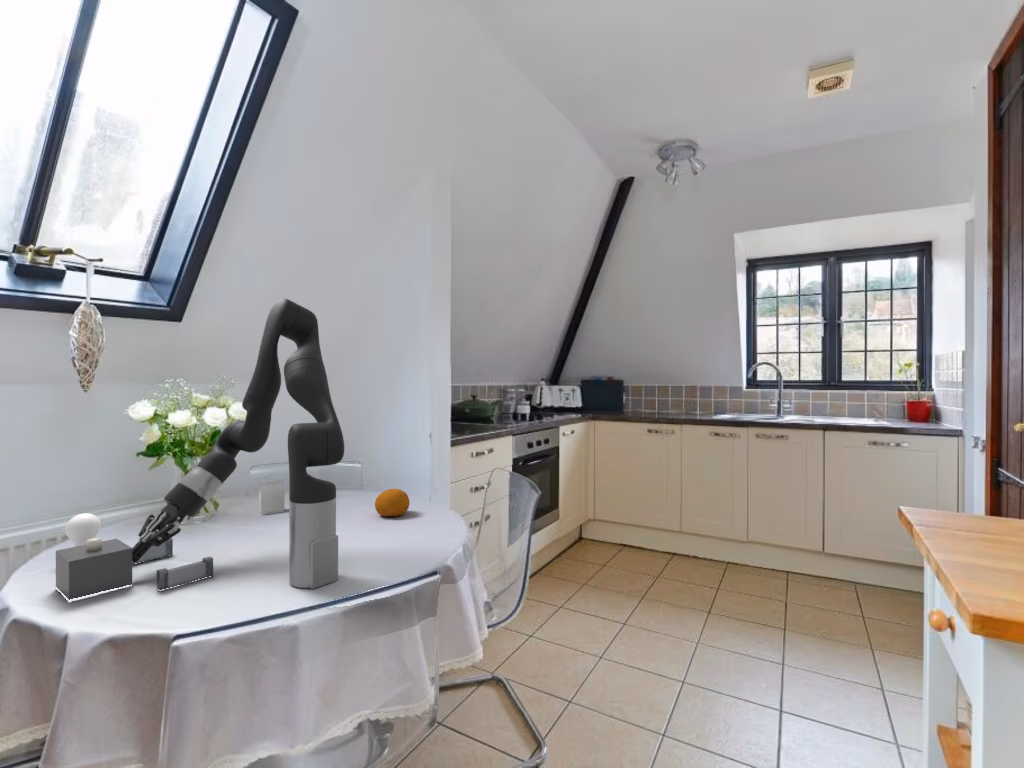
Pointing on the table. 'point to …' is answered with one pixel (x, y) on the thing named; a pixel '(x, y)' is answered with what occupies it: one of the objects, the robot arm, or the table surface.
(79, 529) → the lightbulb
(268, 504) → the grey rectangular block
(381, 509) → the fruit
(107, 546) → the plug block
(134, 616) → the table surface
